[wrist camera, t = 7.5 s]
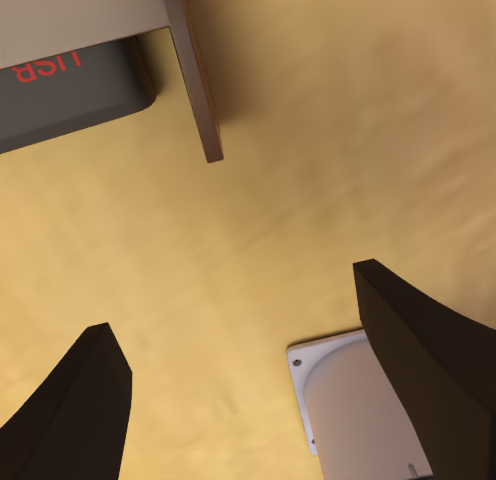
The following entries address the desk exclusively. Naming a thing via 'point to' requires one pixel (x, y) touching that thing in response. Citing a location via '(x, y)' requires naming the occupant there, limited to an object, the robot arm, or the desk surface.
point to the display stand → (108, 30)
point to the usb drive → (72, 92)
